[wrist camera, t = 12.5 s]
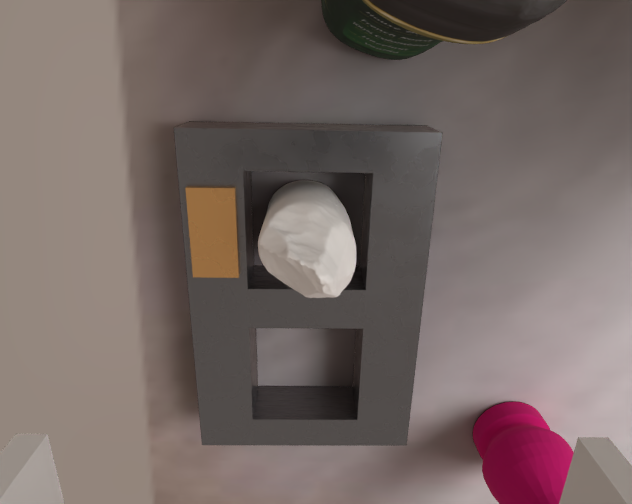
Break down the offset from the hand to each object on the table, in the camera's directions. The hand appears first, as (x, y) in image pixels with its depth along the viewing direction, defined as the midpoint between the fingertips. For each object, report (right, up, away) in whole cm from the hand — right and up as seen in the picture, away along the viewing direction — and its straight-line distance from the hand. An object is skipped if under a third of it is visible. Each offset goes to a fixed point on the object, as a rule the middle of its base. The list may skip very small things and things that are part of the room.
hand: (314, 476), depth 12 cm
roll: (-1, +8, +22) cm, 24 cm away
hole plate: (-1, +3, +24) cm, 24 cm away
